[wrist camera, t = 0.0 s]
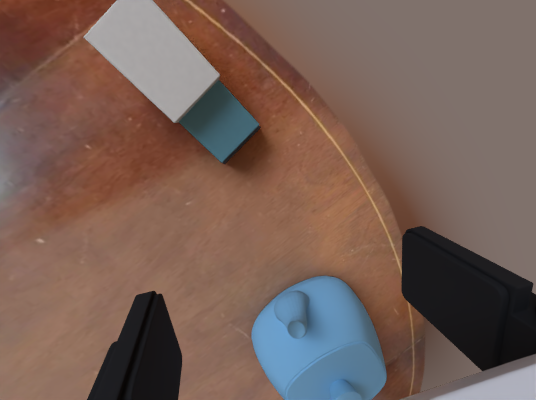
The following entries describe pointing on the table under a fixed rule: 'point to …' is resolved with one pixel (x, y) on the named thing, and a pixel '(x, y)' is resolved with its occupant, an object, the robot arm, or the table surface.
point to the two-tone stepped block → (172, 75)
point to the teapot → (319, 343)
